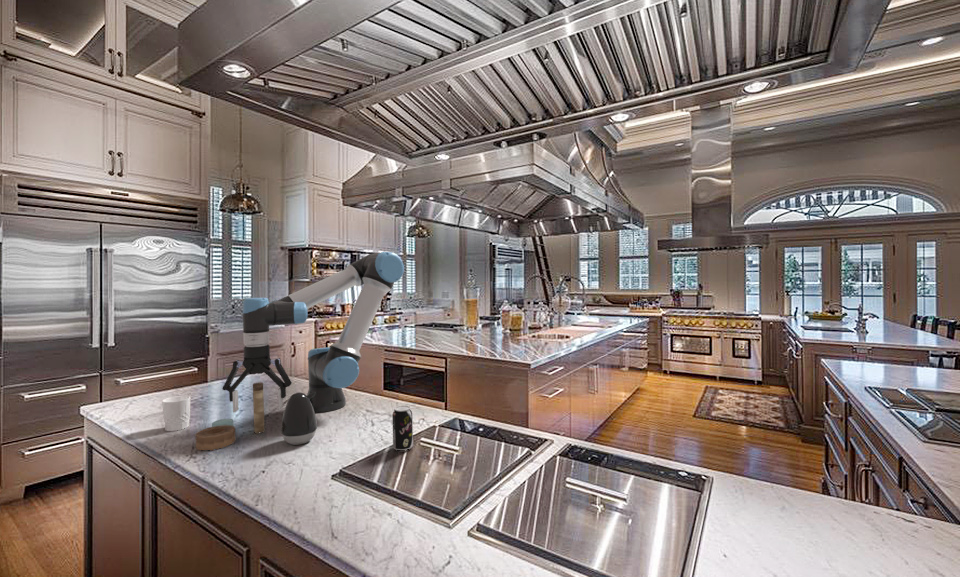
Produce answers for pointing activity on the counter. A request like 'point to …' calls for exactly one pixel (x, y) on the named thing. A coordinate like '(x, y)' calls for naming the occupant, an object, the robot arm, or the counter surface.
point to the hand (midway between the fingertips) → (258, 409)
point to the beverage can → (402, 428)
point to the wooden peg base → (215, 437)
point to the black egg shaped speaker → (299, 419)
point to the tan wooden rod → (258, 407)
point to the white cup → (176, 412)
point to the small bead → (223, 422)
